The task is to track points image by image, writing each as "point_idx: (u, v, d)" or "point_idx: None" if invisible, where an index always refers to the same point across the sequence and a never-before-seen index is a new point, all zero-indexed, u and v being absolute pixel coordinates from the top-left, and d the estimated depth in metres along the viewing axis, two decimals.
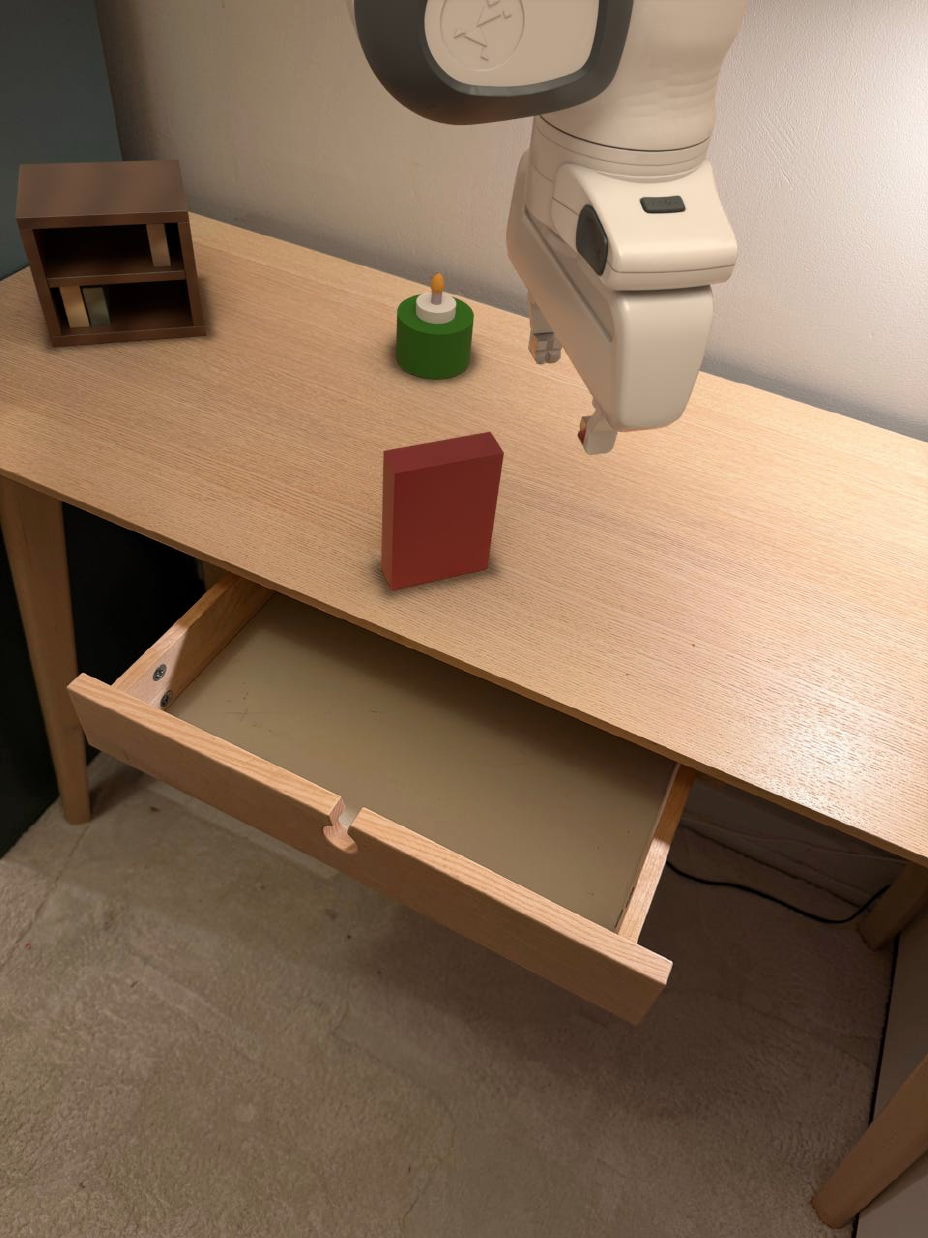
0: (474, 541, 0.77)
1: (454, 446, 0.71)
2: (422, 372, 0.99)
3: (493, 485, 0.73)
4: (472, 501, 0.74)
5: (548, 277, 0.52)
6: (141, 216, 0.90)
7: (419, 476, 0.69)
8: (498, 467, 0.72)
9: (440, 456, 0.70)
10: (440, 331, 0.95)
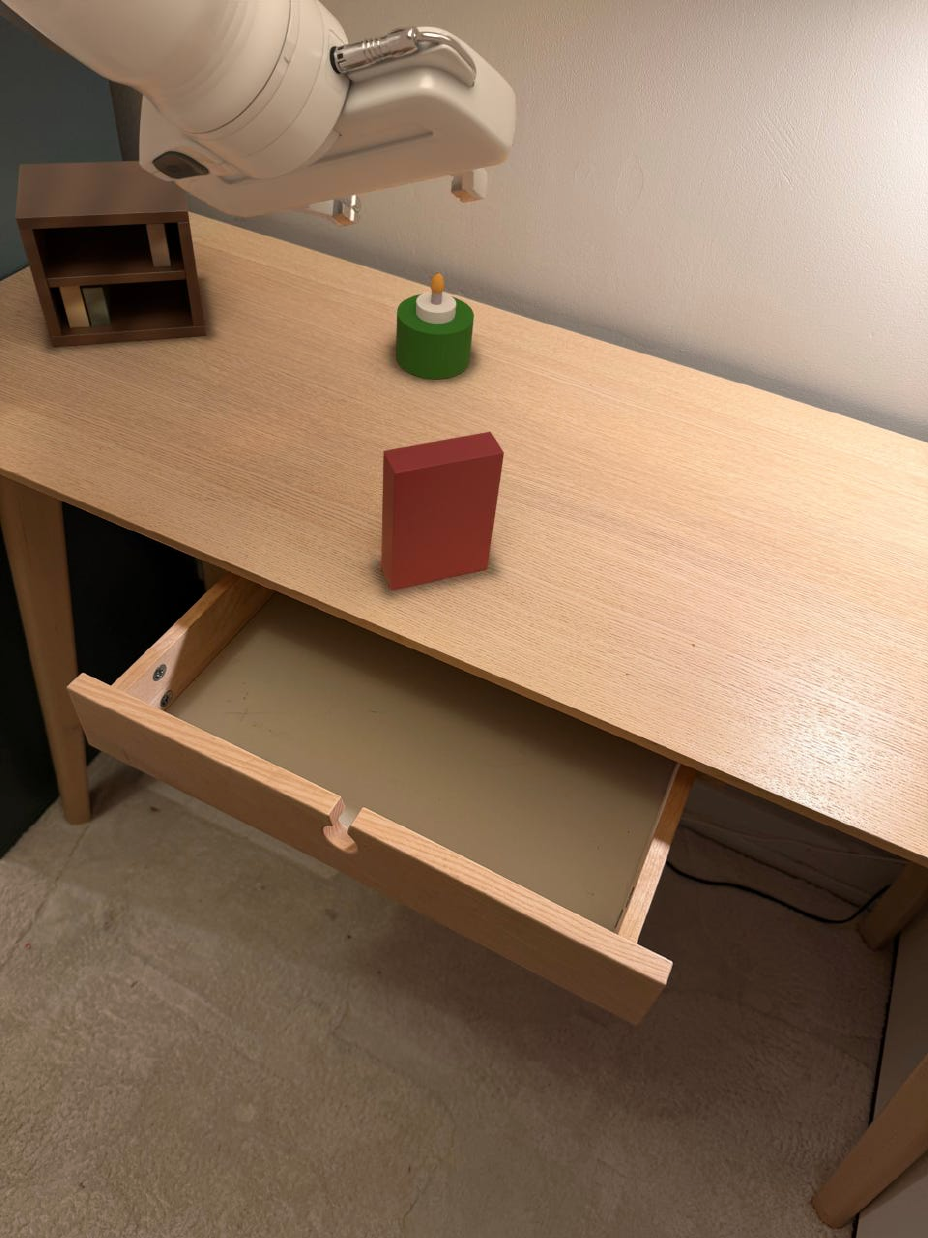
0: (474, 541, 0.77)
1: (454, 446, 0.71)
2: (422, 372, 0.99)
3: (493, 485, 0.73)
4: (472, 501, 0.74)
5: None
6: (141, 216, 0.90)
7: (419, 476, 0.69)
8: (498, 467, 0.72)
9: (440, 456, 0.70)
10: (440, 331, 0.95)
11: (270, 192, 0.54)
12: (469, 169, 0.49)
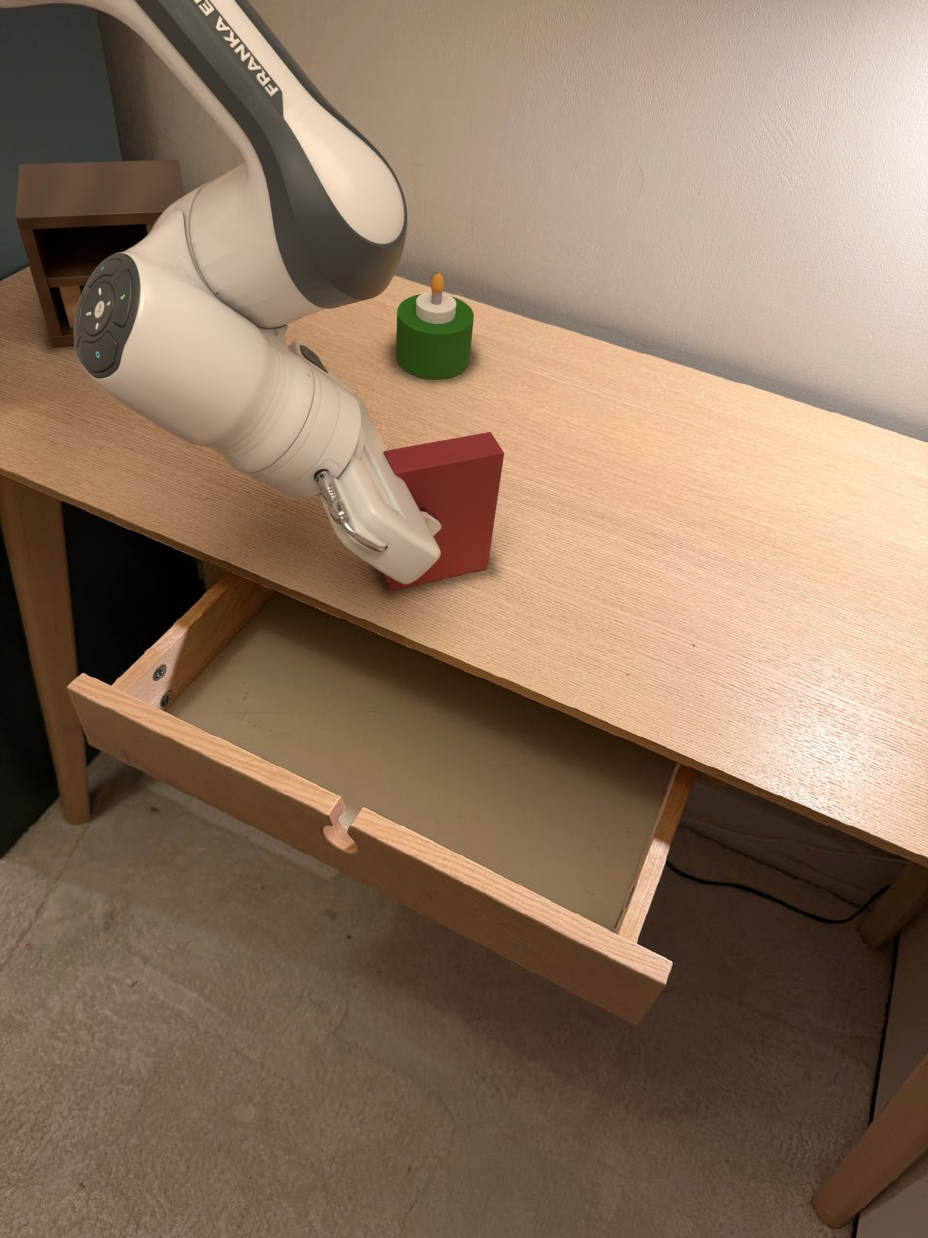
0: (474, 541, 0.77)
1: (454, 446, 0.71)
2: (422, 372, 0.99)
3: (493, 485, 0.73)
4: (472, 501, 0.74)
5: (386, 472, 0.67)
6: (141, 216, 0.90)
7: (419, 476, 0.69)
8: (498, 467, 0.72)
9: (441, 456, 0.70)
10: (440, 331, 0.95)
11: None
12: None
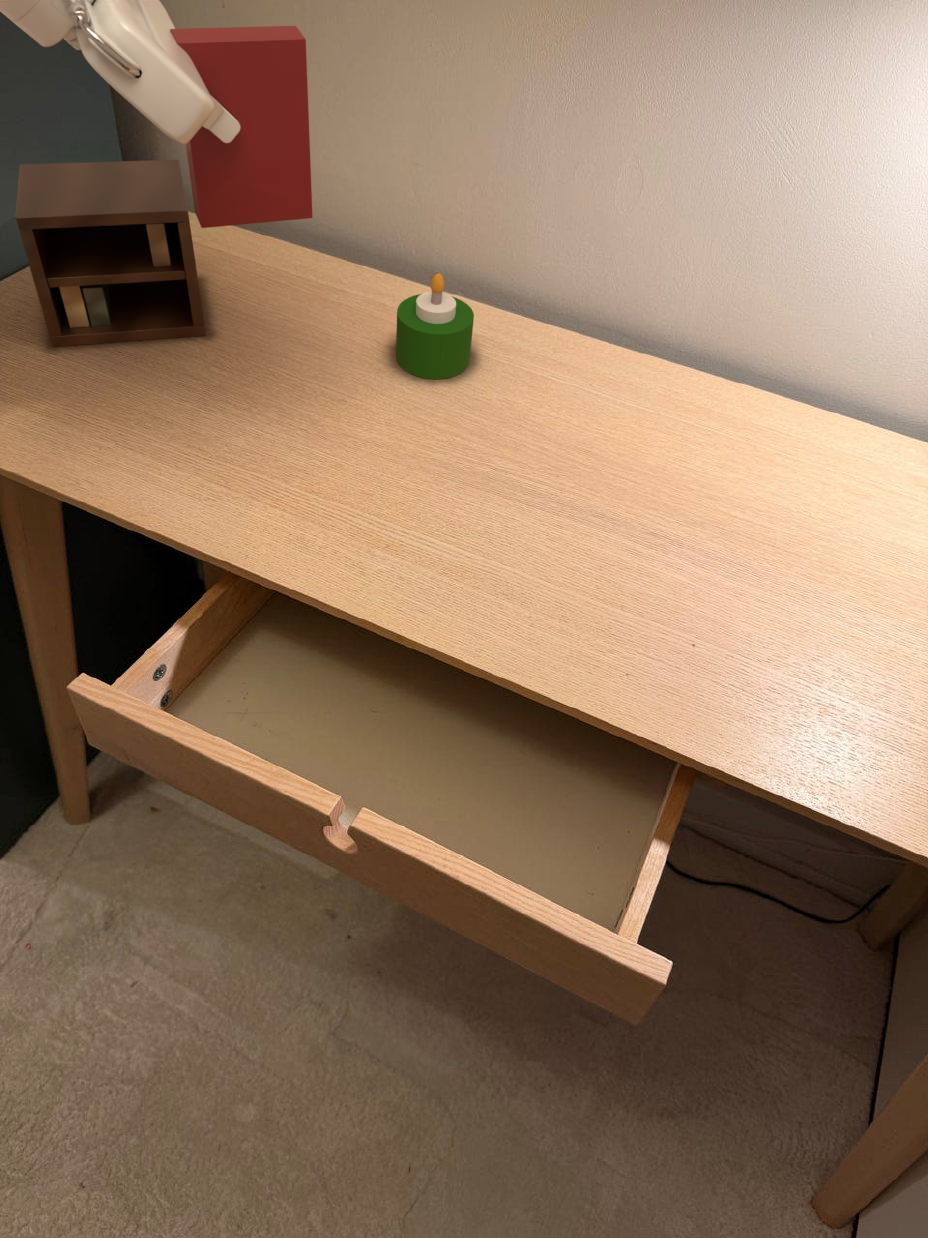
0: (290, 171, 0.71)
1: (250, 31, 0.65)
2: (422, 372, 0.99)
3: (300, 88, 0.67)
4: (278, 108, 0.68)
5: (164, 33, 0.61)
6: (141, 216, 0.90)
7: (207, 54, 0.63)
8: (302, 60, 0.66)
9: (233, 36, 0.64)
10: (440, 331, 0.95)
11: None
12: None
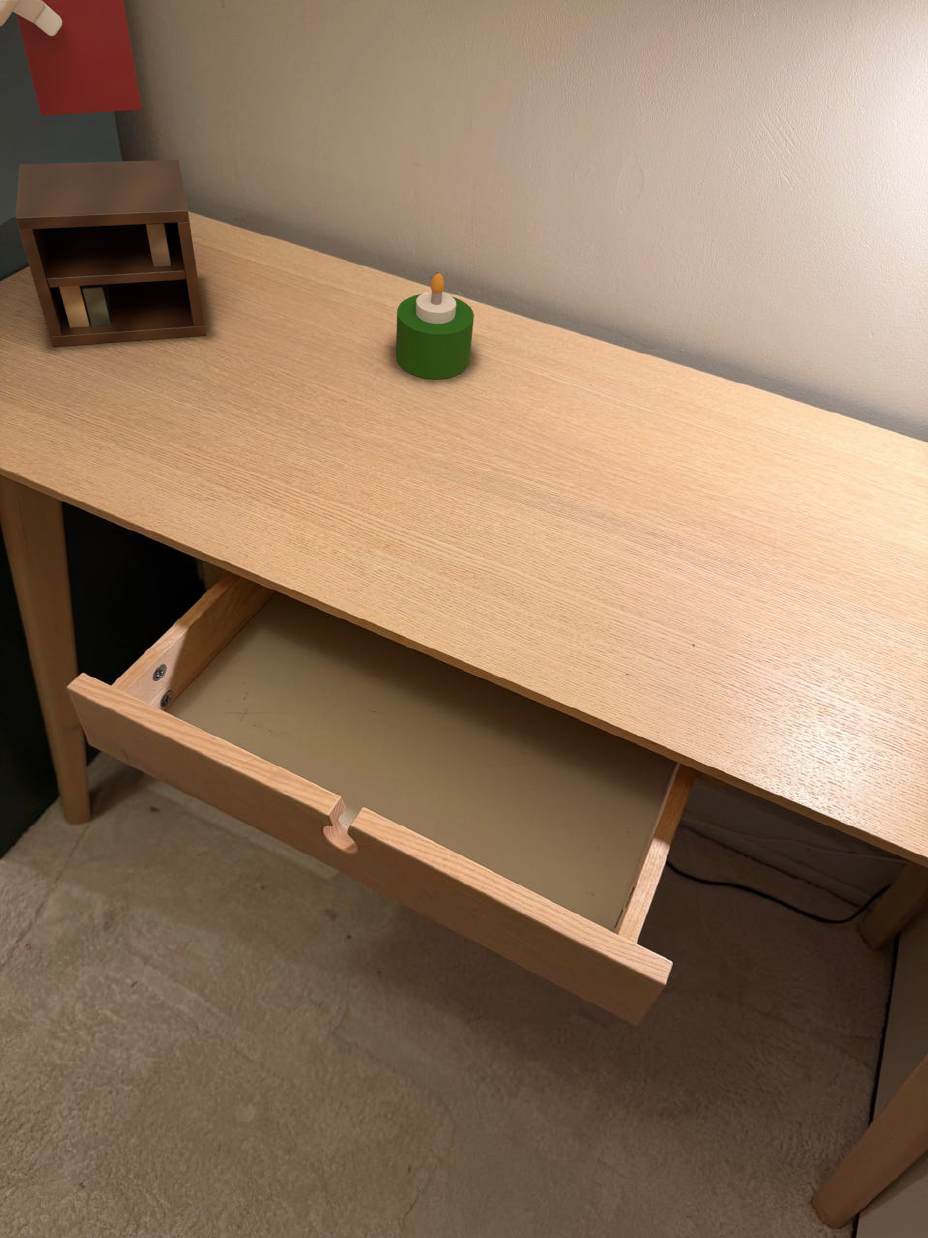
0: (115, 65, 0.83)
1: None
2: (422, 372, 0.99)
3: None
4: (97, 6, 0.79)
5: None
6: (141, 216, 0.90)
7: None
8: None
9: None
10: (440, 331, 0.95)
11: None
12: None
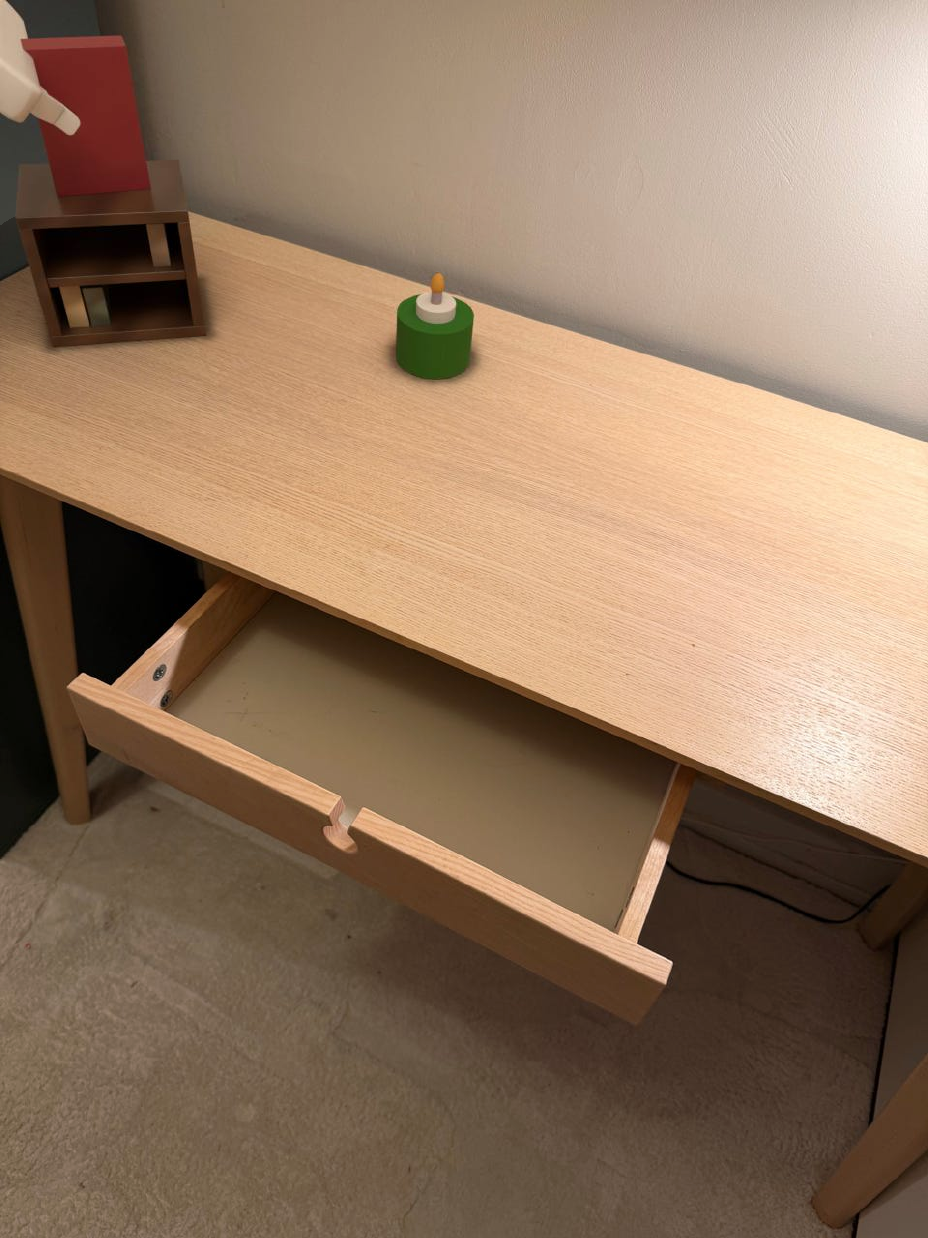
0: (127, 150, 0.90)
1: (82, 40, 0.83)
2: (422, 372, 0.99)
3: (126, 84, 0.85)
4: (110, 100, 0.86)
5: (7, 37, 0.79)
6: (141, 216, 0.90)
7: (46, 58, 0.82)
8: (125, 62, 0.84)
9: (67, 43, 0.82)
10: (440, 331, 0.95)
11: None
12: None
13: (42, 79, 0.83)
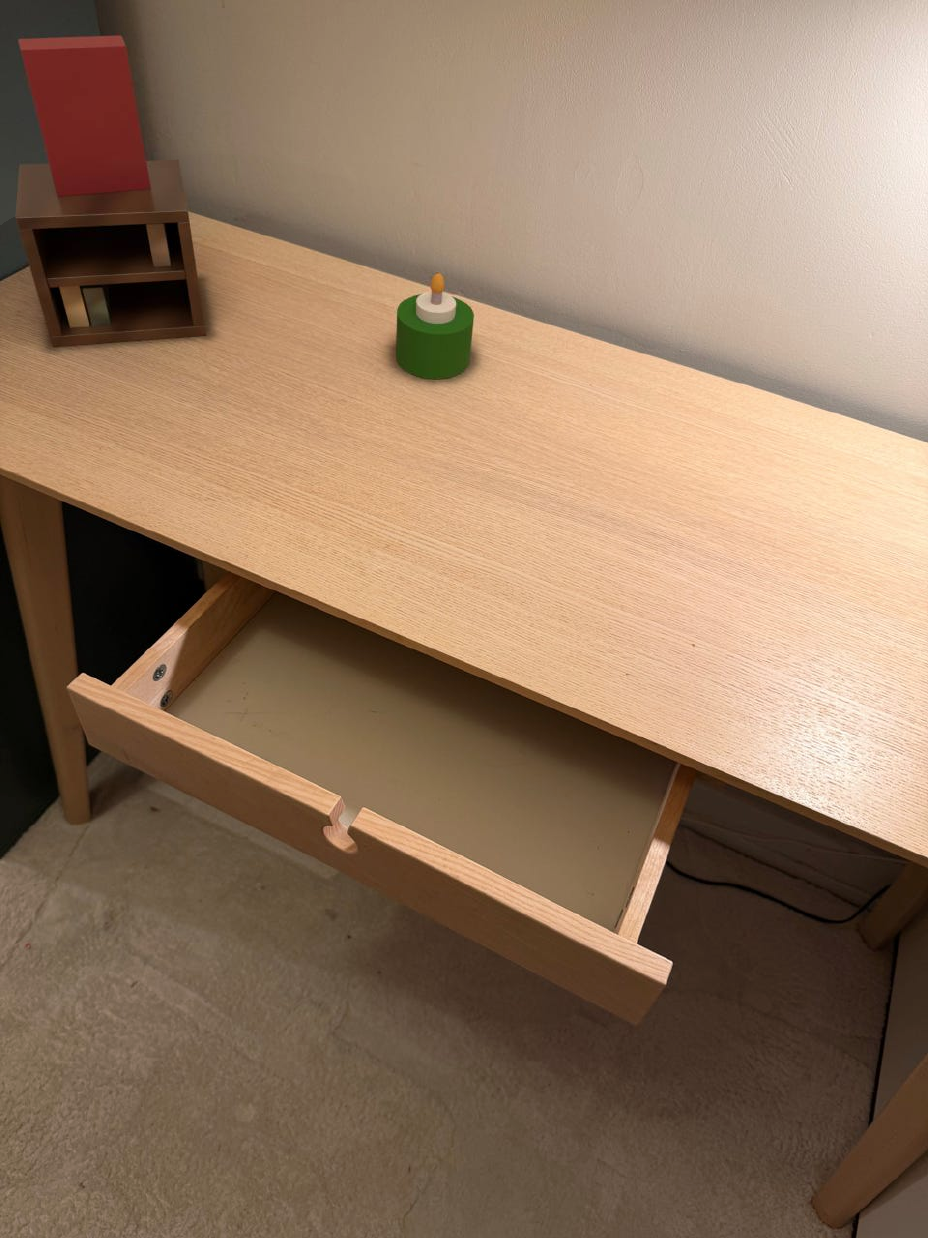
0: (127, 150, 0.90)
1: (82, 40, 0.83)
2: (422, 372, 0.99)
3: (126, 84, 0.85)
4: (110, 100, 0.86)
5: None
6: (141, 216, 0.90)
7: (46, 58, 0.82)
8: (125, 62, 0.84)
9: (67, 43, 0.82)
10: (440, 331, 0.95)
11: None
12: None
13: (42, 79, 0.83)
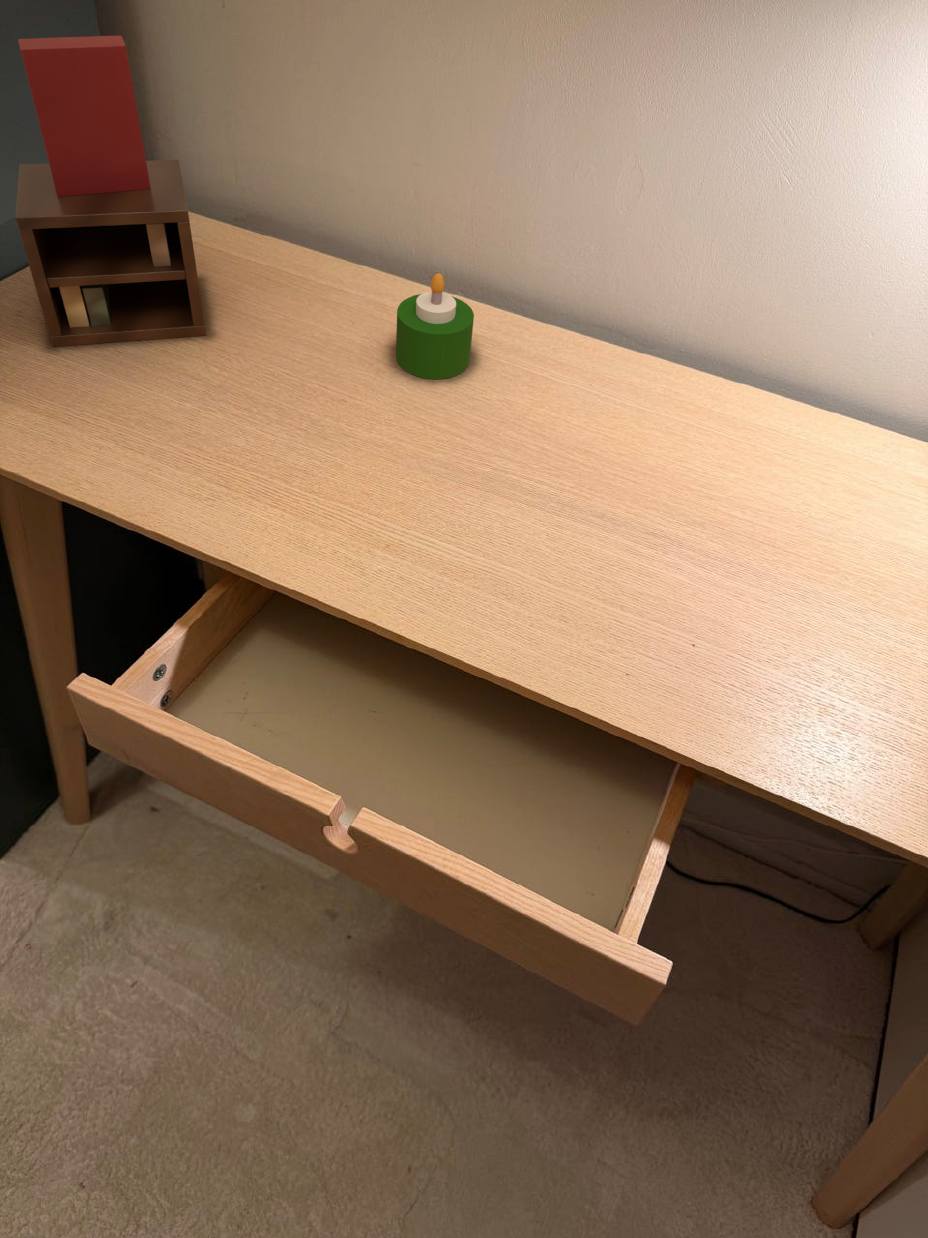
0: (127, 150, 0.90)
1: (82, 40, 0.83)
2: (422, 372, 0.99)
3: (126, 84, 0.85)
4: (110, 100, 0.86)
5: None
6: (141, 216, 0.90)
7: (46, 58, 0.82)
8: (125, 62, 0.84)
9: (67, 43, 0.82)
10: (440, 331, 0.95)
11: None
12: None
13: (42, 79, 0.83)
